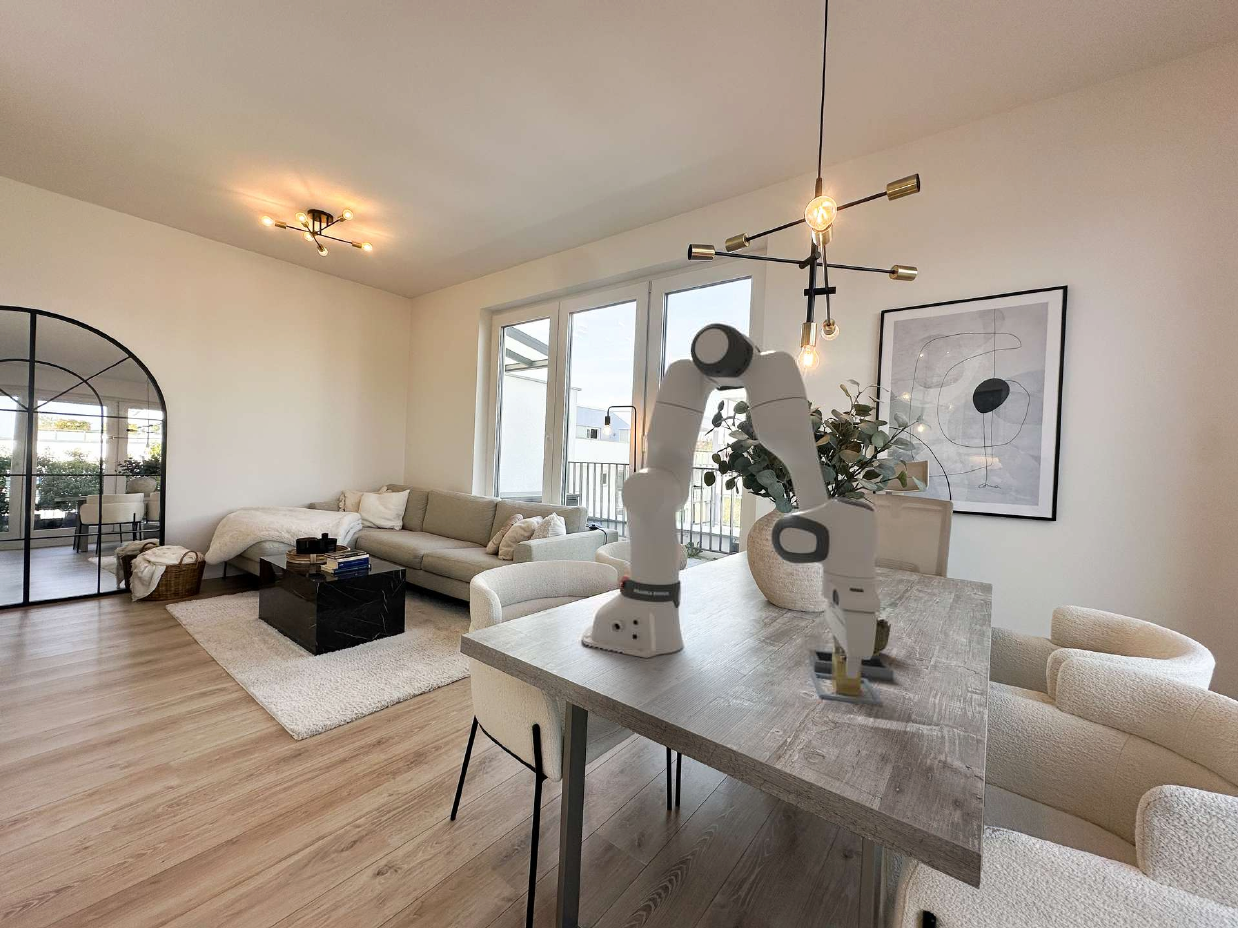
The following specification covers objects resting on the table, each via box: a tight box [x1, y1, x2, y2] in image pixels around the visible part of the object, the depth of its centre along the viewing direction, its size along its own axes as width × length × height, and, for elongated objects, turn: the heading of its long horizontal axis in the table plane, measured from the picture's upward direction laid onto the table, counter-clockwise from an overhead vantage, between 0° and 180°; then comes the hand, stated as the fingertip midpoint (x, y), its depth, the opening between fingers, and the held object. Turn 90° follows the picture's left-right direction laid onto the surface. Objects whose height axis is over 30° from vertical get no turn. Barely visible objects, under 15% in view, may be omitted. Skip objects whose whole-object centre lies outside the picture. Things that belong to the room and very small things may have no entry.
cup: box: [872, 616, 892, 657], centre depth 111 cm, size 8×7×8 cm
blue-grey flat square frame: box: [809, 671, 884, 707], centre depth 91 cm, size 10×10×2 cm
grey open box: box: [808, 648, 895, 682], centre depth 100 cm, size 14×7×3 cm, turn 78°
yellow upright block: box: [830, 653, 862, 697], centre depth 91 cm, size 4×4×6 cm
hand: (844, 666), depth 91 cm, fingers open, 8 cm apart
